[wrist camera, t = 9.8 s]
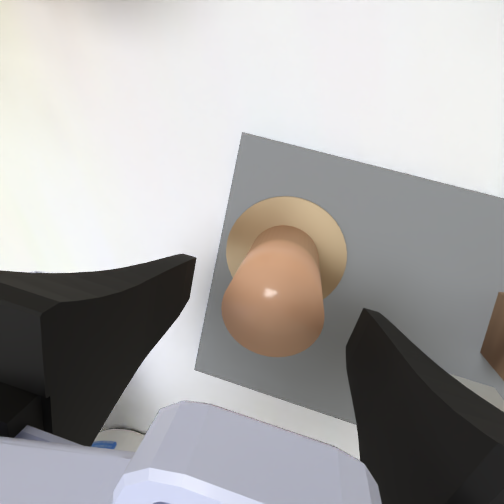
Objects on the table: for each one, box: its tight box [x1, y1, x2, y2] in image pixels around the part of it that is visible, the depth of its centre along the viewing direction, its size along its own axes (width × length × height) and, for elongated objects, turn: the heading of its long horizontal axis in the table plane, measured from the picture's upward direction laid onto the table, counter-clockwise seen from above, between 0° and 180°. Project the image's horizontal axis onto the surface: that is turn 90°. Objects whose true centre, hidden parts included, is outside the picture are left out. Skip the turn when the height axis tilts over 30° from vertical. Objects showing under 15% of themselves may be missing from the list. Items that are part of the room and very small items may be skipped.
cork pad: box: [226, 196, 347, 299], centre depth 17 cm, size 7×7×1 cm
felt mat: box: [194, 132, 504, 425], centre depth 17 cm, size 17×22×1 cm
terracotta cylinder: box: [221, 225, 325, 357], centre depth 14 cm, size 4×4×6 cm
